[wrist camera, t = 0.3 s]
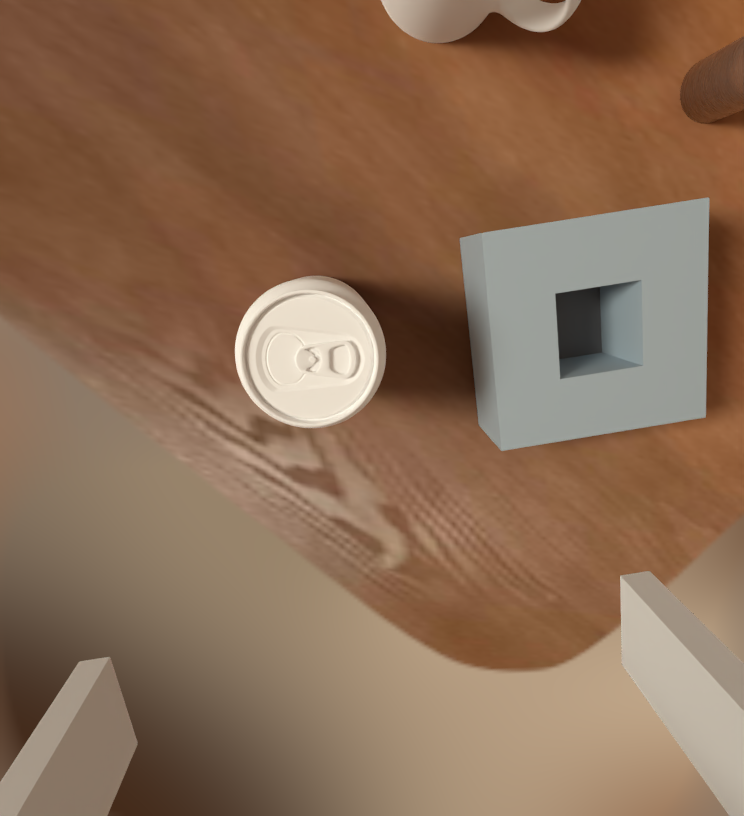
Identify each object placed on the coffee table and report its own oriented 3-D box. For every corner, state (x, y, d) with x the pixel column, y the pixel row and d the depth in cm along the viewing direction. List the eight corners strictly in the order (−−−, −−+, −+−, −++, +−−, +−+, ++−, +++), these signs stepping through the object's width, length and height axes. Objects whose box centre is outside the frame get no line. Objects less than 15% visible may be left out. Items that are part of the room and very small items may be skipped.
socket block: (459, 238, 38) (481, 232, 32) (652, 207, 38) (709, 197, 32) (478, 425, 41) (501, 450, 36) (654, 396, 42) (706, 417, 36)
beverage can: (259, 275, 38) (224, 279, 26) (373, 275, 38) (389, 279, 26) (265, 387, 40) (234, 437, 28) (373, 386, 40) (387, 434, 28)
